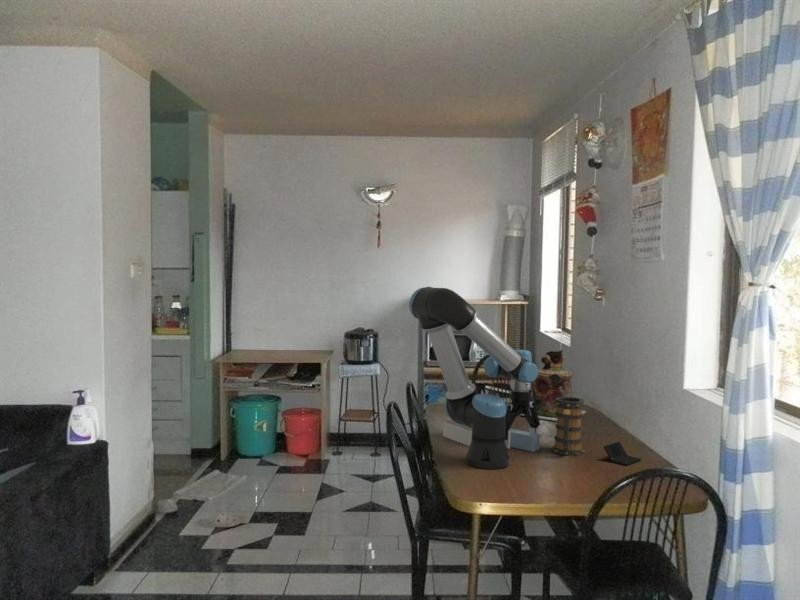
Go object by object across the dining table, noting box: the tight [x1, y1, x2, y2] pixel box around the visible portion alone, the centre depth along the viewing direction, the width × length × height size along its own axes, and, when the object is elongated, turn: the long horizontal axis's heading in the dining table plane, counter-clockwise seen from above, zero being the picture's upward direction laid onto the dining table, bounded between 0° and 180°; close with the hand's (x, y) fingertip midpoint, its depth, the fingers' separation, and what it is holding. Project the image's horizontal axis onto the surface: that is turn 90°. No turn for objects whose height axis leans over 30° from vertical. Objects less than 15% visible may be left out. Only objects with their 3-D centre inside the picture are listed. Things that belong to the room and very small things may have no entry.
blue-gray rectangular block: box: [509, 428, 541, 452], centre depth 255 cm, size 5×15×6 cm, turn 49°
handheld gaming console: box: [603, 441, 642, 467], centre depth 239 cm, size 12×7×10 cm
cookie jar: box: [519, 348, 587, 422], centre depth 312 cm, size 25×25×32 cm
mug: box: [550, 396, 588, 457], centre depth 246 cm, size 13×17×20 cm
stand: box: [442, 417, 472, 447], centre depth 265 cm, size 14×18×7 cm
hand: (519, 446), depth 255 cm, fingers open, 12 cm apart
